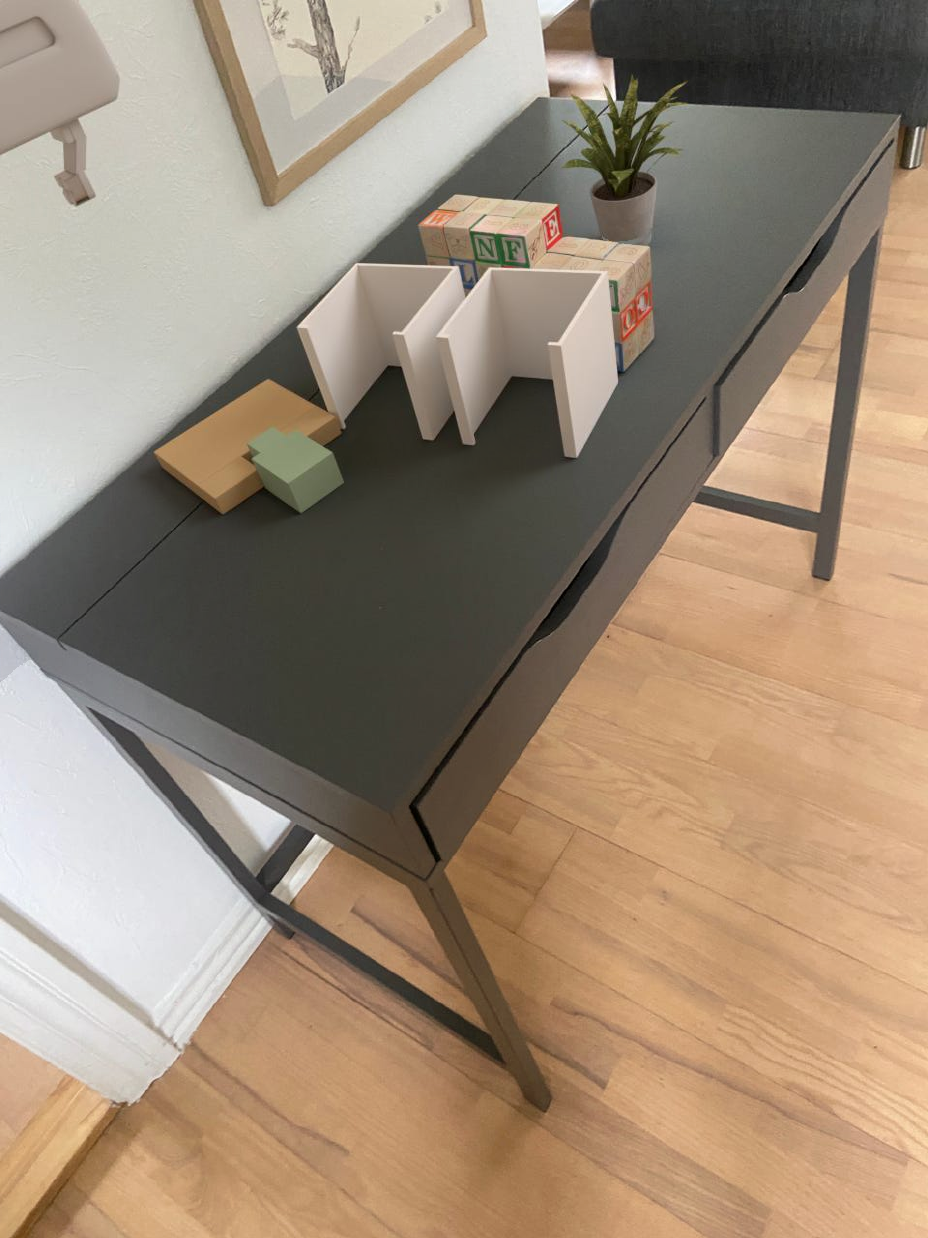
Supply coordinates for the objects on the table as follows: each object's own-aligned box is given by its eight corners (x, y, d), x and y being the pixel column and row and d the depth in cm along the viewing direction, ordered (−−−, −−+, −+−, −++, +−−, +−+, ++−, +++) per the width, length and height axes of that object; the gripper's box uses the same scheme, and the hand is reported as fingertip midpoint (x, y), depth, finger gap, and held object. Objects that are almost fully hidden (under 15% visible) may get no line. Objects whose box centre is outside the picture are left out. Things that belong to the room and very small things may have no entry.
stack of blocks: (656, 338, 88) (649, 212, 79) (624, 374, 85) (613, 248, 76) (478, 305, 99) (454, 191, 90) (444, 336, 96) (415, 221, 87)
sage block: (301, 513, 81) (287, 483, 78) (251, 478, 86) (237, 449, 83) (344, 482, 82) (332, 452, 80) (293, 450, 88) (280, 420, 85)
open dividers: (618, 382, 84) (607, 271, 76) (576, 458, 78) (560, 345, 70) (386, 362, 95) (356, 262, 87) (334, 428, 89) (296, 327, 81)
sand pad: (223, 515, 83) (214, 498, 82) (162, 467, 90) (153, 451, 89) (342, 433, 88) (335, 416, 86) (275, 394, 95) (268, 378, 93)
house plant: (709, 265, 94) (709, 95, 83) (575, 290, 96) (556, 128, 85) (687, 205, 104) (684, 45, 92) (566, 229, 106) (547, 75, 94)
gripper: (26, -84, 54) (134, 156, 64) (-326, 50, 47) (-143, 295, 57) (69, -84, 50) (176, 171, 60) (-308, 61, 43) (-115, 322, 53)
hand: (19, 233), depth 59 cm, fingers open, 8 cm apart
